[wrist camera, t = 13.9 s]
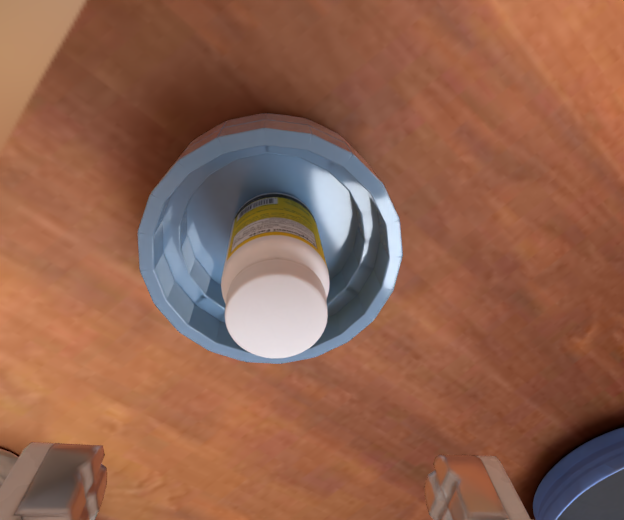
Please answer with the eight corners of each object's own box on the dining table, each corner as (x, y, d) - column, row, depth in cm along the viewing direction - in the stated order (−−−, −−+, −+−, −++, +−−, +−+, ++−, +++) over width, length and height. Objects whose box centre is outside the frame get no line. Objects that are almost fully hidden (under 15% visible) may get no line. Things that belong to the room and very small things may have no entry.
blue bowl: (157, 96, 20) (130, 110, 16) (403, 128, 22) (432, 149, 18) (163, 308, 26) (143, 357, 22) (358, 321, 28) (373, 369, 24)
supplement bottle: (296, 278, 25) (306, 380, 18) (220, 252, 24) (196, 349, 17) (331, 209, 23) (358, 290, 16) (250, 175, 22) (239, 247, 15)
